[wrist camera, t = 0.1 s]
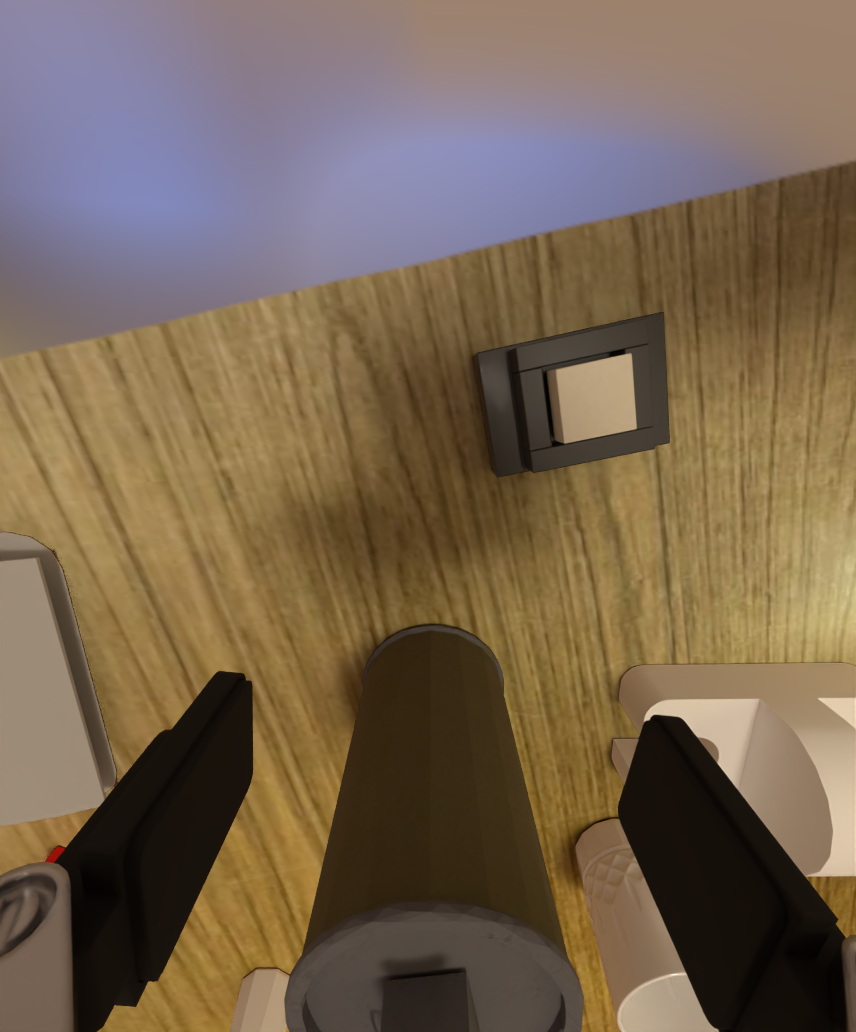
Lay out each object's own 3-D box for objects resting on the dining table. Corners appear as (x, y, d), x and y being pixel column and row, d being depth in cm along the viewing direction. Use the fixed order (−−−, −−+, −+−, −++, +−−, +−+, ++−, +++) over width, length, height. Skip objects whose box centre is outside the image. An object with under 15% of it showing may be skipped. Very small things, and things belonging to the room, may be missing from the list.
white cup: (563, 817, 35) (614, 980, 25) (660, 805, 34) (750, 967, 24) (571, 885, 37) (620, 1058, 27) (662, 874, 36) (745, 1047, 27)
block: (643, 318, 24) (684, 303, 20) (651, 439, 26) (689, 446, 22) (472, 356, 25) (479, 349, 21) (491, 471, 27) (501, 484, 23)
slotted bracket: (874, 662, 30) (1075, 784, 21) (840, 767, 33) (1005, 918, 23) (622, 665, 30) (708, 786, 21) (609, 769, 33) (680, 919, 24)
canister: (348, 635, 30) (199, 1064, 11) (493, 613, 29) (607, 1026, 10) (380, 754, 33) (307, 1258, 14) (512, 737, 32) (628, 1237, 13)
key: (616, 356, 21) (632, 352, 20) (621, 426, 22) (637, 429, 21) (545, 371, 22) (555, 369, 20) (554, 440, 22) (564, 444, 21)
